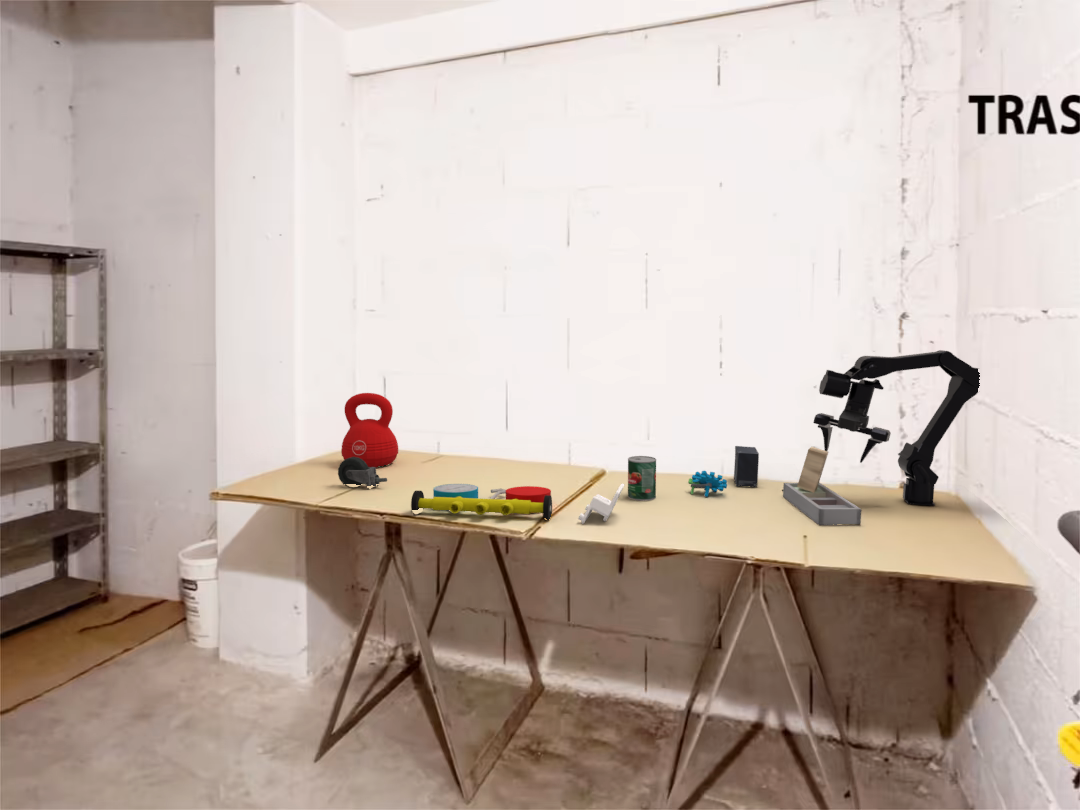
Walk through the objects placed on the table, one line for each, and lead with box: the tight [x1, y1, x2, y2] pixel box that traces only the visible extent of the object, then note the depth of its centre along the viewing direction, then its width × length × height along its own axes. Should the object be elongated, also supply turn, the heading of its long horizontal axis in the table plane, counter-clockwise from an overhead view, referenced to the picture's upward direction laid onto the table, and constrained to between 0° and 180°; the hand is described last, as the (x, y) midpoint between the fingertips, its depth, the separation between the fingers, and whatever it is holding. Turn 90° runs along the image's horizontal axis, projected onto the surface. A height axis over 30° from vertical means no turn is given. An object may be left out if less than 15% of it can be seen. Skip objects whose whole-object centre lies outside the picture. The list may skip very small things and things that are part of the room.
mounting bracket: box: [577, 483, 625, 524], centre depth 173 cm, size 12×6×11 cm, turn 164°
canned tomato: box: [627, 455, 657, 502], centre depth 193 cm, size 8×8×11 cm
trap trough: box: [782, 482, 862, 526], centre depth 180 cm, size 26×10×4 cm, turn 179°
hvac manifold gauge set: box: [410, 483, 553, 520], centre depth 184 cm, size 36×6×25 cm
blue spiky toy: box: [687, 470, 728, 498], centre depth 195 cm, size 11×6×10 cm
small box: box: [733, 445, 760, 488], centre depth 208 cm, size 11×6×10 cm, turn 168°
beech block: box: [797, 446, 829, 493], centre depth 187 cm, size 4×4×11 cm
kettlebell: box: [341, 392, 399, 468], centre depth 236 cm, size 19×19×25 cm
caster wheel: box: [337, 457, 388, 487], centre depth 206 cm, size 6×10×15 cm
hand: (843, 457), depth 188 cm, fingers open, 9 cm apart
